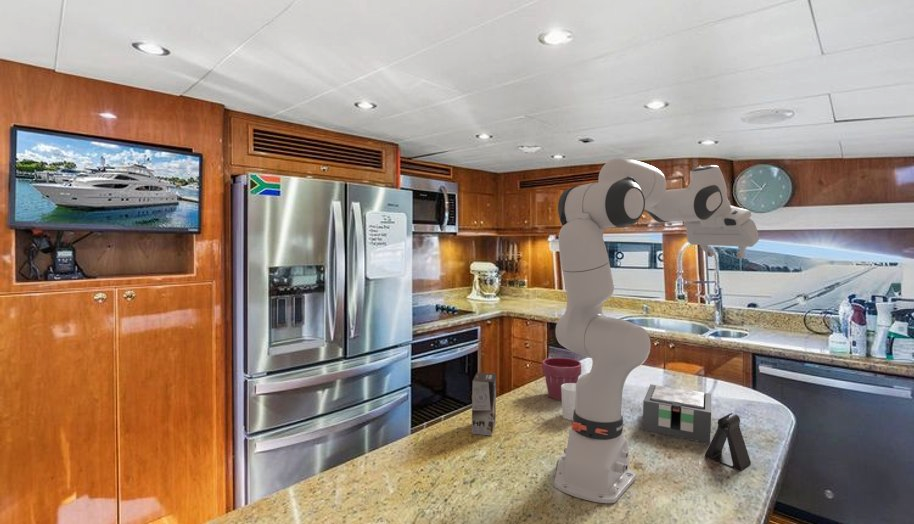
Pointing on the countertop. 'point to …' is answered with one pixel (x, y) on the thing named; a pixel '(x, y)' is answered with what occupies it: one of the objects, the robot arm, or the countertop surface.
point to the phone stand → (736, 444)
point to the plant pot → (560, 374)
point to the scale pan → (678, 397)
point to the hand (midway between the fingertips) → (725, 256)
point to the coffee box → (484, 403)
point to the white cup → (568, 399)
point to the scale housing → (677, 418)
